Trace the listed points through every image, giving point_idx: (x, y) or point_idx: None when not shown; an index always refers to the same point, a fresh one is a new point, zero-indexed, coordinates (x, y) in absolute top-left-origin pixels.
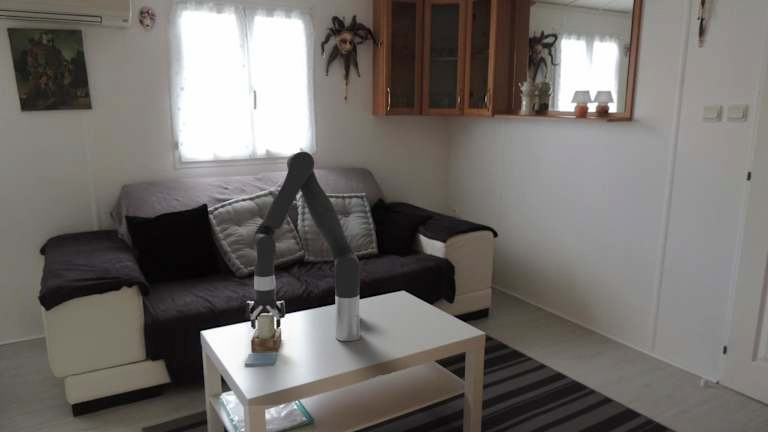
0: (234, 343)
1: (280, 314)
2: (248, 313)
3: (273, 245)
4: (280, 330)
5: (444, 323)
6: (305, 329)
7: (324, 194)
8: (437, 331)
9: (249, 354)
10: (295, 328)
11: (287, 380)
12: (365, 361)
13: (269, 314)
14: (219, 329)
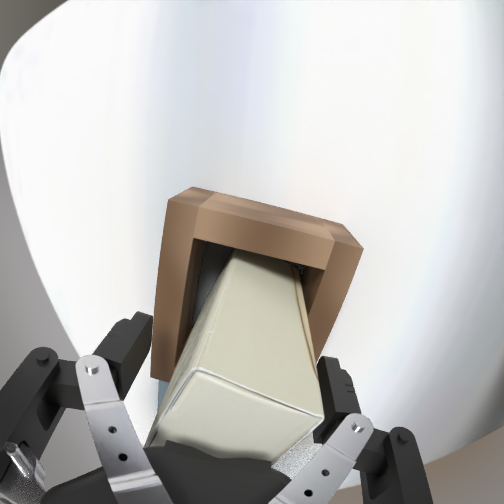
0: (83, 211)
1: (366, 458)
2: (51, 426)
3: None
4: (349, 283)
5: None
6: (481, 131)
7: None
8: None
9: (163, 382)
10: (440, 90)
11: None
12: (482, 429)
13: (260, 448)
14: (37, 30)
